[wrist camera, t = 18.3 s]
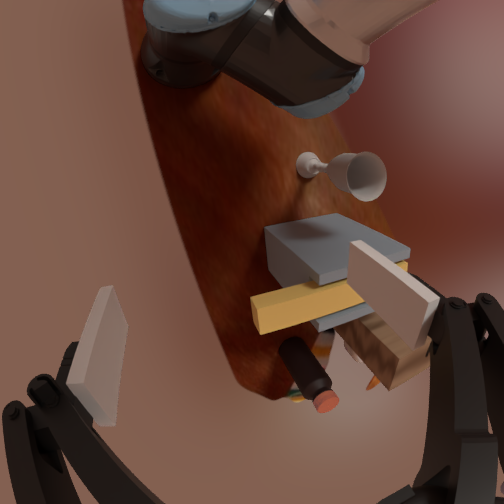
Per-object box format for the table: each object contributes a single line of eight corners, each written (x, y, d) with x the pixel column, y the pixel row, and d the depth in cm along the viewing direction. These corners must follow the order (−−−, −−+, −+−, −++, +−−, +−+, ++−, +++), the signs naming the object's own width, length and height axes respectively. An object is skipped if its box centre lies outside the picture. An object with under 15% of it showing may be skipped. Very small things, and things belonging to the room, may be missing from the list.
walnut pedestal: (317, 280, 61) (399, 359, 36) (367, 266, 64) (453, 326, 39) (317, 310, 64) (388, 391, 39) (365, 294, 67) (441, 358, 42)
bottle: (307, 346, 67) (347, 401, 50) (285, 361, 67) (320, 419, 49) (296, 331, 64) (337, 389, 46) (273, 348, 64) (308, 409, 46)
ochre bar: (250, 296, 35) (257, 309, 33) (395, 256, 40) (407, 263, 38) (253, 321, 37) (260, 335, 34) (392, 278, 42) (404, 286, 39)
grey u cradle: (263, 226, 53) (319, 275, 33) (336, 213, 56) (410, 248, 37) (268, 269, 56) (318, 332, 37) (337, 253, 60) (403, 299, 40)
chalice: (329, 156, 51) (392, 165, 35) (317, 187, 53) (377, 208, 37) (297, 141, 49) (356, 142, 32) (285, 174, 50) (339, 190, 34)
